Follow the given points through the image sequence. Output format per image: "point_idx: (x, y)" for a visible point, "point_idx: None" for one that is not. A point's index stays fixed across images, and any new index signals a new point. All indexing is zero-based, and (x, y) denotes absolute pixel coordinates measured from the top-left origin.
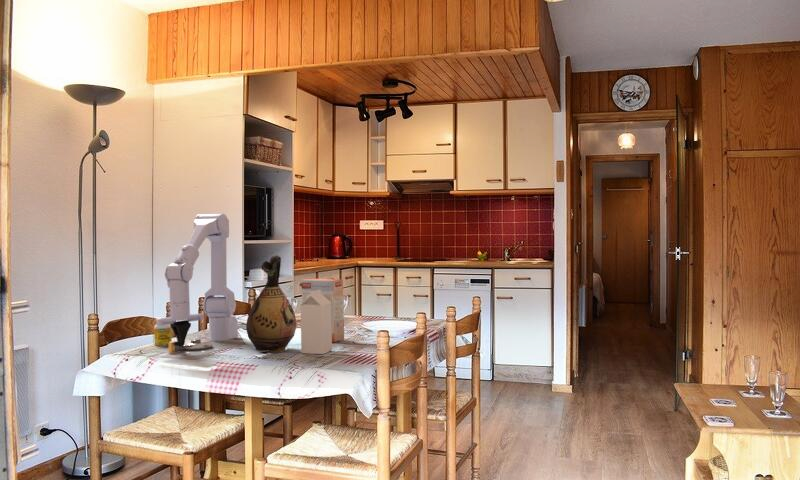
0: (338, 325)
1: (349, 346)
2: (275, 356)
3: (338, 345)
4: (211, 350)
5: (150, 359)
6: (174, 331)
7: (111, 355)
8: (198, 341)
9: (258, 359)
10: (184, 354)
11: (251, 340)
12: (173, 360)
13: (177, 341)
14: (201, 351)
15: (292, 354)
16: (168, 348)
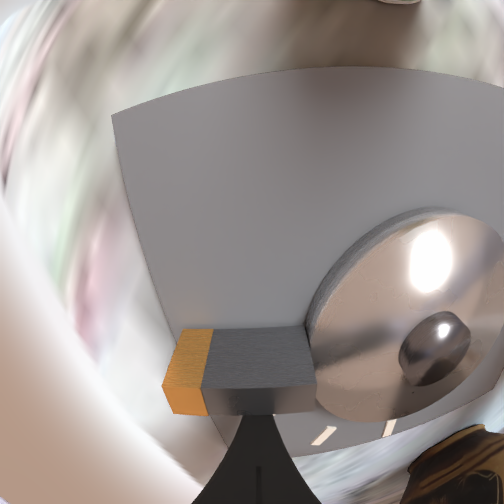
0: None
1: None
2: (381, 490)
3: None
4: (371, 427)
5: (74, 301)
6: (200, 500)
7: (23, 13)
8: (423, 381)
9: (338, 498)
10: (225, 424)
11: (414, 491)
12: (158, 408)
13: (245, 411)
14: (325, 429)
15: None
16: (296, 141)
